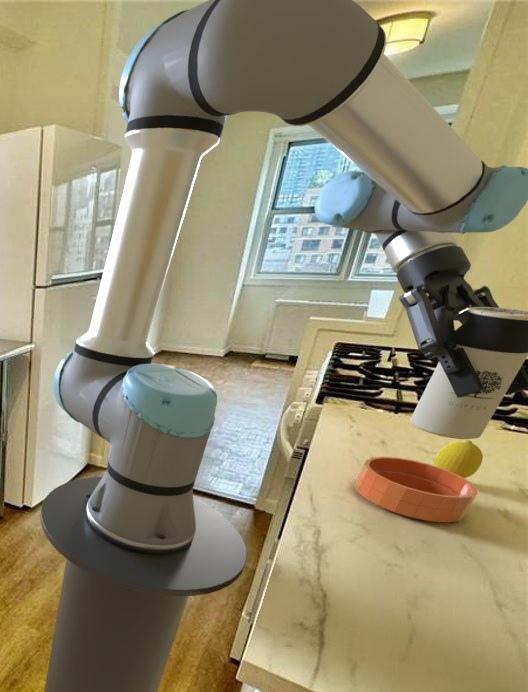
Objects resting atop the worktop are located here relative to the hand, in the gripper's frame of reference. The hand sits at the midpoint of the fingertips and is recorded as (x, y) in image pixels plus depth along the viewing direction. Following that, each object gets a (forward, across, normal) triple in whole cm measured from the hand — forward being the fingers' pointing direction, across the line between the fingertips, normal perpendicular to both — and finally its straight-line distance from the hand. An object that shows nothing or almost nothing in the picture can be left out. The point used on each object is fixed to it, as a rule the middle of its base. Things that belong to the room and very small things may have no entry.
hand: (495, 391), depth 68 cm
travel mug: (+3, 0, +8) cm, 8 cm away
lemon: (+9, +16, +21) cm, 28 cm away
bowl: (+12, +1, +18) cm, 21 cm away
